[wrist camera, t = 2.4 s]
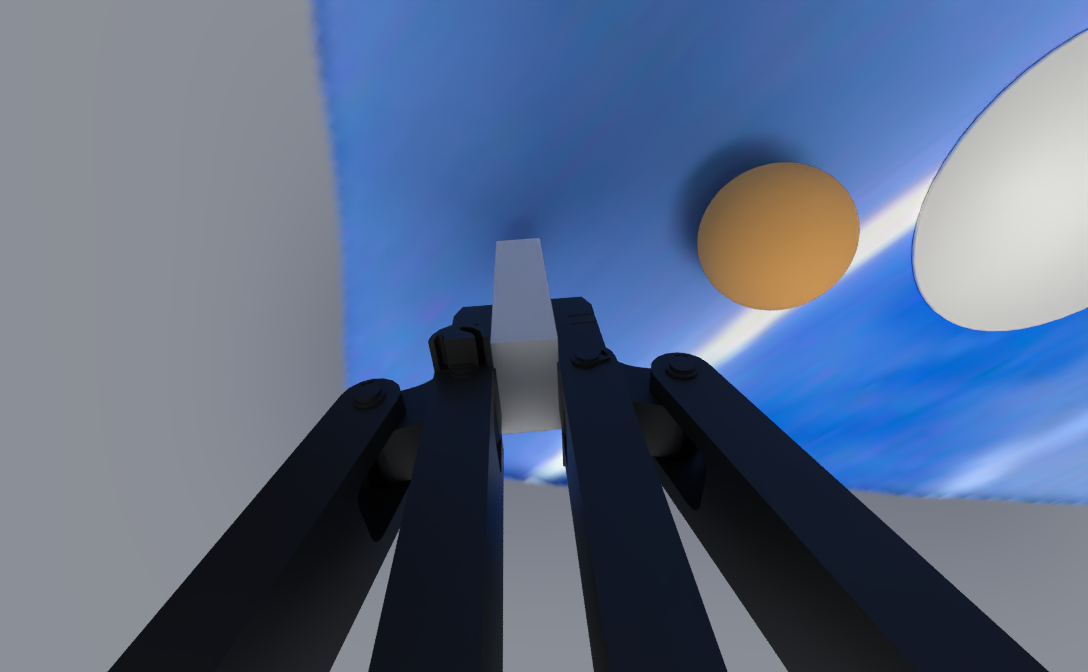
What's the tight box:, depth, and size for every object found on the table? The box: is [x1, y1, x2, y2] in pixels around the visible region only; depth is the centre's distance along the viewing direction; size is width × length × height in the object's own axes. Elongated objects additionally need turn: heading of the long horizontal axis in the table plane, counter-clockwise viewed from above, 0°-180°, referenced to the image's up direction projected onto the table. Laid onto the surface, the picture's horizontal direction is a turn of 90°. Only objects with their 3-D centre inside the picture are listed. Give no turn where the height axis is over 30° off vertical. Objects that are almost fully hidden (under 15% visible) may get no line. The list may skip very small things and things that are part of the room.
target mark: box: [912, 30, 1088, 331], centre depth 20 cm, size 14×14×1 cm
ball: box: [697, 162, 860, 310], centre depth 18 cm, size 6×6×6 cm
